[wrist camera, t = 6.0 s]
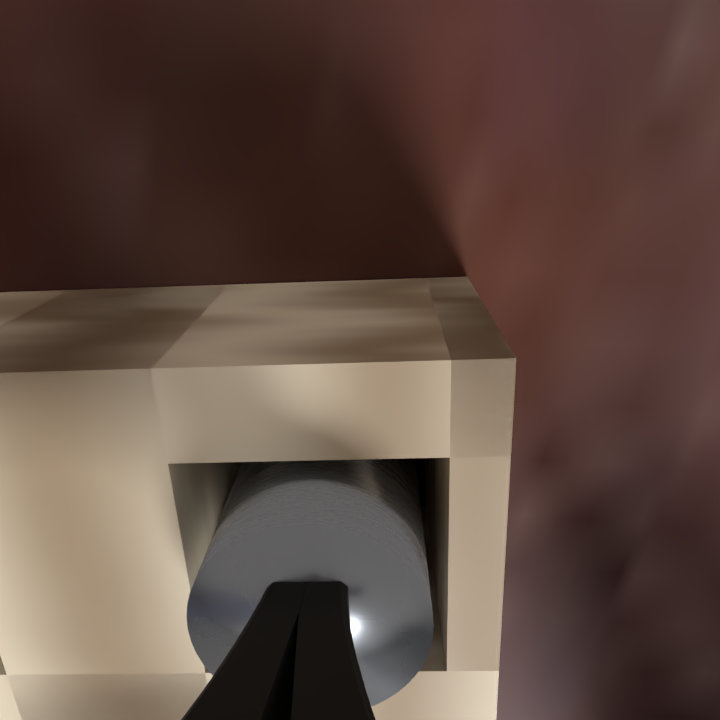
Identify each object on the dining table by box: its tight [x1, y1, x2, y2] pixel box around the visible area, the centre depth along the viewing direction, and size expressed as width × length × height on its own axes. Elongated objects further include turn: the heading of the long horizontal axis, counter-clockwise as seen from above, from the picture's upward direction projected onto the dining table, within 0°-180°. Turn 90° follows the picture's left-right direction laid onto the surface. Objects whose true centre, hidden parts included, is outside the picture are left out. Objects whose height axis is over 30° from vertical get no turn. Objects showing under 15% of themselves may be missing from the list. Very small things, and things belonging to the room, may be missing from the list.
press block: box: [0, 277, 516, 720], centre depth 15 cm, size 17×9×6 cm, turn 92°
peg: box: [186, 458, 434, 707], centre depth 13 cm, size 4×4×6 cm
